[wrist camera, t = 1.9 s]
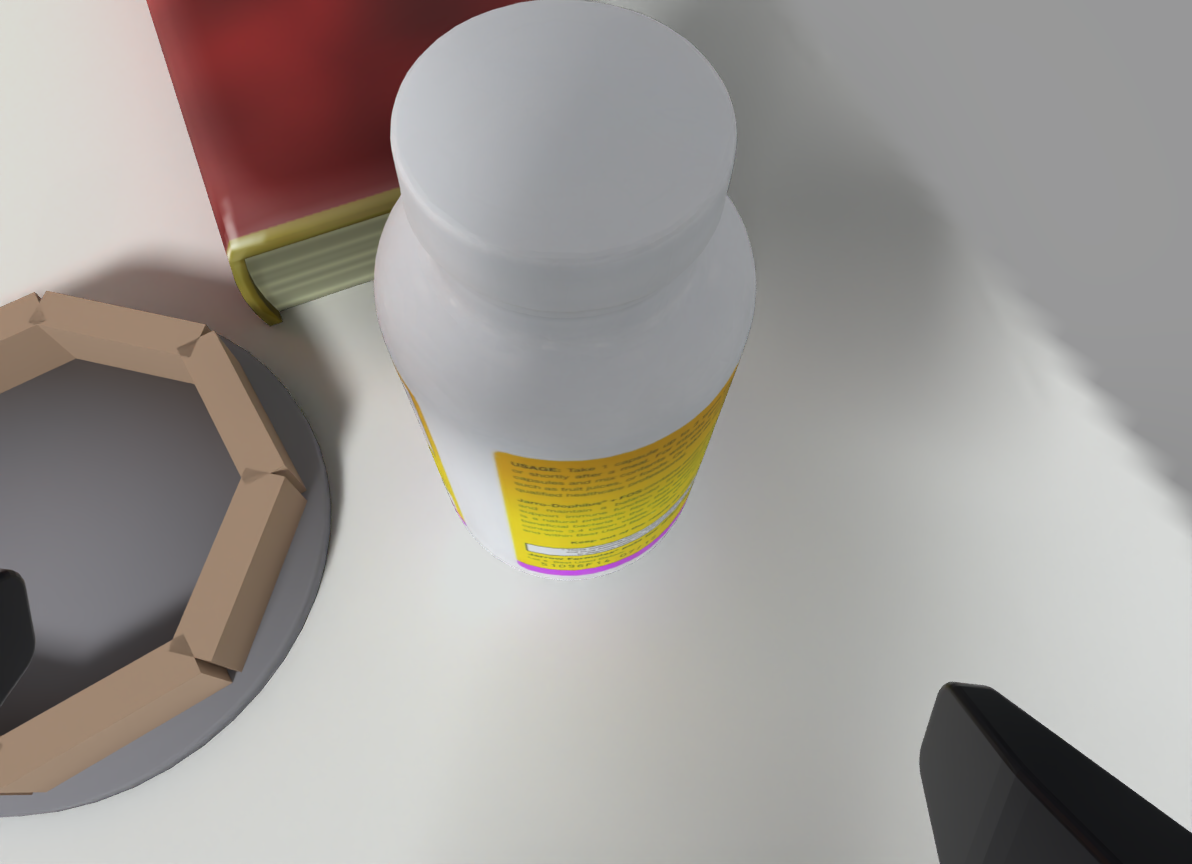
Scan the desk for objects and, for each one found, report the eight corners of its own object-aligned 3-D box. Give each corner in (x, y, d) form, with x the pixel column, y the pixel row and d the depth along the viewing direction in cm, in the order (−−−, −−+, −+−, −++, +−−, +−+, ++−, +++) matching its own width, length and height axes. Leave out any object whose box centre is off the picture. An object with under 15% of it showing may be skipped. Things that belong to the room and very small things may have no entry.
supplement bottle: (736, 455, 23) (913, 103, 11) (584, 639, 21) (603, 444, 9) (555, 321, 24) (543, -112, 13) (397, 479, 22) (204, 134, 10)
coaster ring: (-120, 942, 18) (-227, 967, 15) (-243, 467, 22) (-342, 429, 19) (416, 620, 21) (397, 598, 18) (218, 258, 25) (181, 202, 23)
